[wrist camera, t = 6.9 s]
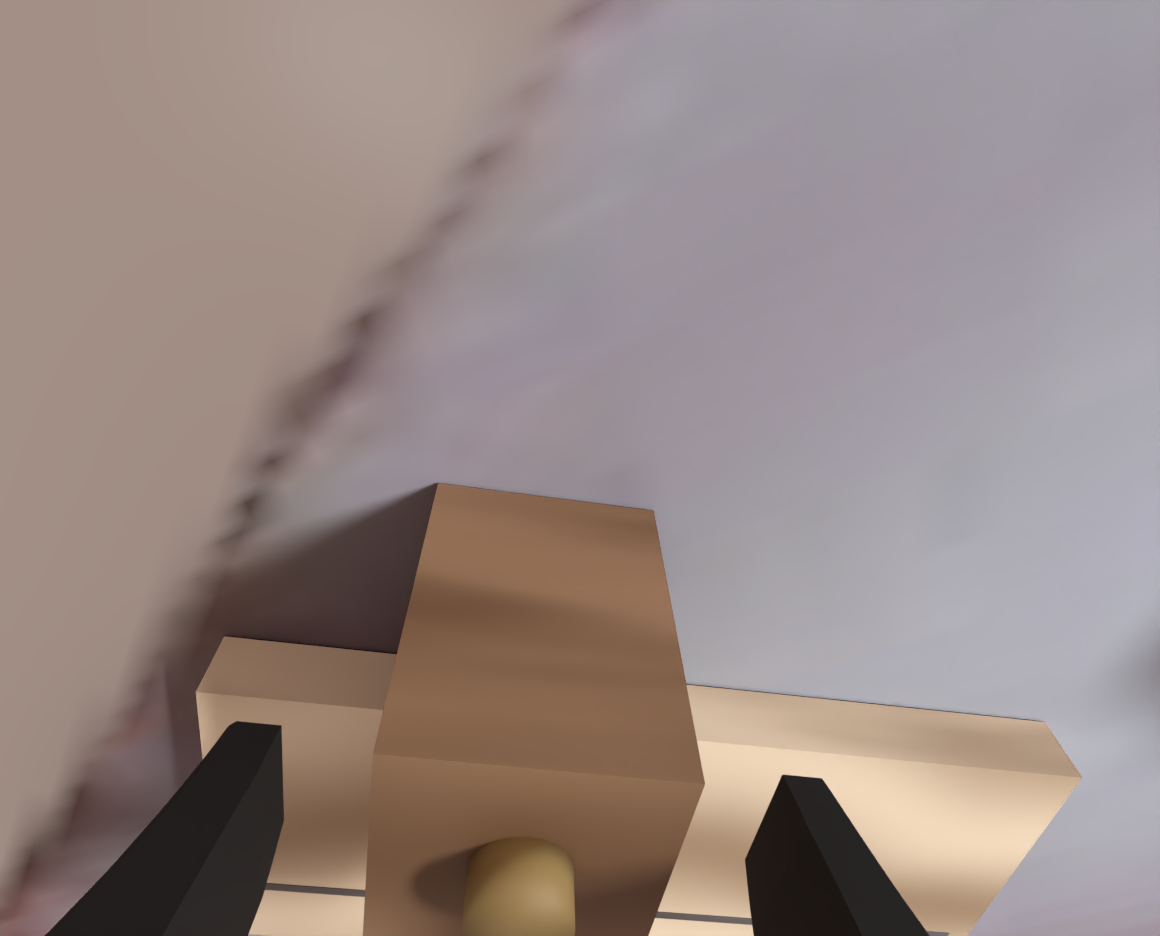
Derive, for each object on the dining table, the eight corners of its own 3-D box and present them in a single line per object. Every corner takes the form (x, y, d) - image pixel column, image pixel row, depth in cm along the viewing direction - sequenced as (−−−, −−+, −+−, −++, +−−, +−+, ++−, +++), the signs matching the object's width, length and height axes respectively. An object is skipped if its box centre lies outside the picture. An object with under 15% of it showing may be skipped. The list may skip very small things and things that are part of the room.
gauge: (561, 865, 20) (564, 1216, 15) (403, 853, 20) (341, 1209, 14) (653, 510, 15) (716, 843, 9) (438, 482, 14) (358, 814, 9)
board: (912, 921, 22) (934, 980, 21) (241, 872, 20) (219, 933, 19) (1044, 722, 18) (1083, 778, 17) (224, 636, 16) (194, 693, 15)
